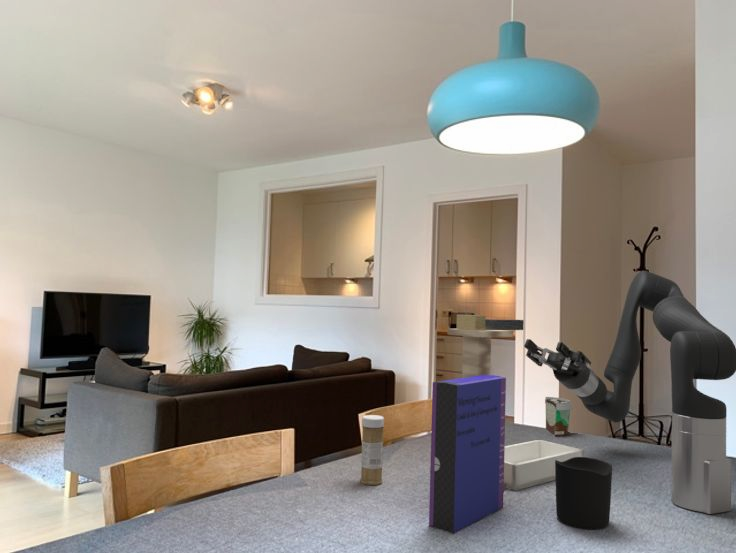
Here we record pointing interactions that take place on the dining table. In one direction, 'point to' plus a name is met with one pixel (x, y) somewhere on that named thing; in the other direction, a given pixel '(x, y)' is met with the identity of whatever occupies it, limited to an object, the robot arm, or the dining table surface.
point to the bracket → (477, 351)
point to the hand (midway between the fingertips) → (542, 343)
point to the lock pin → (487, 323)
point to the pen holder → (583, 492)
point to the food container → (557, 416)
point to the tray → (534, 462)
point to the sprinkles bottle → (372, 449)
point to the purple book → (466, 451)
